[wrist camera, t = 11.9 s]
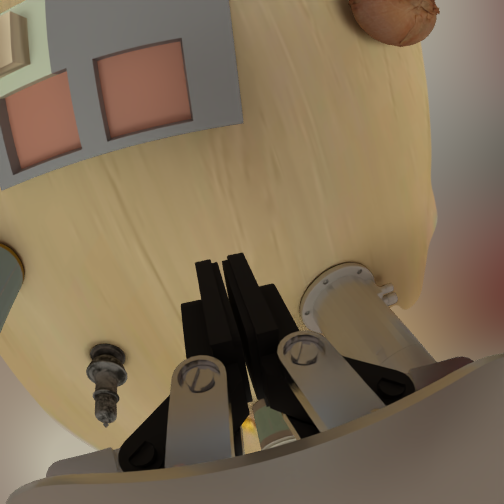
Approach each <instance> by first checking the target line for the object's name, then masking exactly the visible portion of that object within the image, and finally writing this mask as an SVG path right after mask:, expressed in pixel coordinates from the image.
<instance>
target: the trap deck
mask: <svg viewBox="0 0 504 504" xmlns="http://www.w3.org/2000/svg"><path fill="white" fill-rule="evenodd" d="M9 11H11V12H13V13H16V14H18V15H20V16H23V17H25V18H27V27H28V43H29V54H30V65H27V66H25V67H23V68H21V69H19V70H17V71H15V72H13V73H10V74H8V75H6V76H5V77H3V78H1V79H0V187H1V190H5V189H7V188H9V187H12V186H14V185H16V184H19V183H21V182H24V181H26V180H29V179H31V178H34V177H37V176H39V175H42V174H45V173H47V172H50V171H53V170H56V169H58V168H61V167H64V166H67V165H70V164H73V163H76V162H79V161H82V160H85V159H88V158H92V157H95V156H98V155H102V154H105V153H108V152H112V151H115V150H119V149H123V148H126V147H130V146H134V145H138V144H142V143H146V142H150V141H154V140H158V139H162V138H167V137H171V136H176V135H181V134H185V133H190V132H195V131H200V130H206V129H211V128H217V127H223V126H229V125H235V124H242V123H243V114H242V106H241V97H240V89H239V80H238V72H237V64H236V56H235V47H234V39H233V31H232V23H231V15H230V7H229V0H26V1H24V2H22V3H20V4H18V5H16V6H14V7H12V8H10V9H8V10H6V11H4V12H3V13H1V14H0V16H1V15H3V14H5V13H7V12H9Z"/></svg>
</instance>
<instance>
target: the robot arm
mask: <svg viewBox="0 0 504 504" xmlns="http://www.w3.org/2000/svg"><path fill="white" fill-rule="evenodd" d="M222 265H223V271H224V276H225V282H226V287H227V293H228V296H227V293H226V289H225V286H224V283H223V280H222V276H221V273H220V270H219V266H218V263H217V262H215V263H211V260H210V259H209V260H205V261H200V262H195V266H196V272H197V277H198V283H199V289H200V294H201V300H197V301H192V302H187V303H182V304H181V313H182V323H183V332H184V341H185V350H186V358H187V359H186V360H184V361H183V362H181V363H180V364H179V365H178V366H177V367H176V369H175V370H174V372H173V375H172V380H171V390H170V395H169V396H168V397H167V398H166V399H165V400H164V401H163V403H162V404H161V405H160V406H159V407H158V408H157V409H156V410H155V411H154V412H153V413H152V414H151V415H150V416H149V417H148V418H147V419H146V420H145V421H144V422H143V423H142V424H141V425H140V426H139V427H138V428H137V429H136V431H135V432H134V433H133V434H132V435H131V436H130V437H129V438H128V439H127V440H126V441H125V442H124V443H123V445H122V446H121V447H120V448H119V449H115V450H113V449H112V448H111V447H110V448H107V449H103V450H100V451H96V452H92V453H89V454H85V455H81V456H76V457H72V458H68V459H64V460H59V461H57V462H55V463H53V464H52V465H51V466H50V467H49V469H48V471H47V474H46V478H43V479H40V480H36V481H33V482H31V483H28V484H26V485H24V486H22V487H20V488H18V489H17V490H15V491H14V492H13V493H12V494H11V495H10V496H9V498H8V500H7V501H6V504H504V353H503V354H496V355H492V356H488V357H485V358H482V359H479V360H477V361H473V360H471V359H469V358H467V357H455V358H451V359H448V360H444V361H441V362H436V361H435V359H434V358H433V357H432V356H431V355H430V354H429V353H428V351H427V350H426V349H425V348H424V347H423V345H422V344H421V343H420V342H419V341H418V340H417V338H416V337H415V336H414V335H413V334H412V333H411V332H410V330H409V329H408V328H407V327H406V326H405V325H404V324H403V323H402V321H401V320H400V319H399V318H398V317H397V316H396V315H395V313H394V312H393V311H392V310H391V309H390V308H389V307H388V306H389V305H392V304H394V303H396V302H397V301H398V297H397V295H396V293H395V292H392V291H393V290H394V287H393V285H392V284H391V283H389V284H386V285H383V286H382V287H379V286H377V285H376V284H375V280H374V277H373V275H372V273H371V272H370V271H369V270H368V269H367V268H366V267H365V266H363V265H361V264H358V263H344V264H341V265H337V266H335V267H333V268H331V269H329V270H327V271H326V272H324V273H323V274H321V275H320V276H319V277H318V278H317V279H315V281H314V282H313V283H312V284H311V285H310V286H309V288H308V289H307V291H306V292H305V294H304V296H303V298H302V301H301V305H300V316H301V319H302V321H303V323H304V324H305V325H306V327H307V328H308V329H310V330H311V331H299V329H298V327H297V325H296V323H295V322H294V320H293V318H292V316H291V314H290V312H289V310H288V309H287V307H286V305H285V303H284V301H283V299H282V298H281V296H280V294H279V292H278V290H277V288H276V287H275V285H274V284H273V283H272V284H268V285H264V286H258V284H257V282H256V280H255V278H254V275H253V273H252V271H251V269H250V267H249V265H248V263H247V260H246V258H245V256H244V254H243V253H238V254H233V255H228V256H227V260H225V261H222ZM389 292H390V293H389ZM387 293H388V294H387ZM383 294H385V295H383ZM228 298H229V299H228ZM312 331H314V332H312ZM316 332H317V333H316ZM319 333H323V335H324V336H325V337H324V336H323V335H321V334H319ZM245 363H246V364H245ZM246 366H247V369H248V372H249V375H250V379H251V382H252V385H253V388H254V391H255V394H256V397H257V399H258V400H260V399H264V401H265V404H266V407H269V406H270V408H271V409H273V410H276V411H278V412H281V414H282V416H283V419H284V421H285V422H286V424H287V425H288V427H289V429H290V430H291V432H292V434H293V435H294V437H295V438H296V440H297V441H293V442H290V443H287V444H283V445H280V446H276V447H273V448H269V449H265V450H262V451H258V452H254V453H249V454H245V452H244V442H243V432H242V427H241V425H242V424H243V422H244V421H245V419H246V418H247V417H248V415H249V414H250V413H249V408H248V404H247V403H248V402H252V395H251V390H250V385H249V380H248V375H247V370H246Z"/></svg>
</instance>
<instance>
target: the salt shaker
mask: <svg viewBox="0 0 504 504" xmlns="http://www.w3.org/2000/svg"><path fill="white" fill-rule="evenodd" d="M90 355H91V358H92V361H91V363H90V365H89V366H88V367H87V370H86V373H87V376H88V378H89V379H90V380H91V381H92V382H94V383H95V384H96V387H95V392H94V393H93V398H94V400H95V416H96V418H97V419H98V420H99V421H101V422H103V423H104V424H103V425H104V426H105V427H107V426H108V423H112V422H114V421H115V420H116V417H117V406H116V403H117V402H118V401H119V396H118V394H117V387H118V386H121V385H122V384H124V383H125V382H126V380H127V373H126V371H125V369H124V367H123V365H122V364H123V363H124V362H125V355H124V353H123V351H122V350H121V349H119V348H118V347H116V346H114V345H110V344H99V345H96V346H95V347H93V348H92V350H91V353H90Z"/></svg>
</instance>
